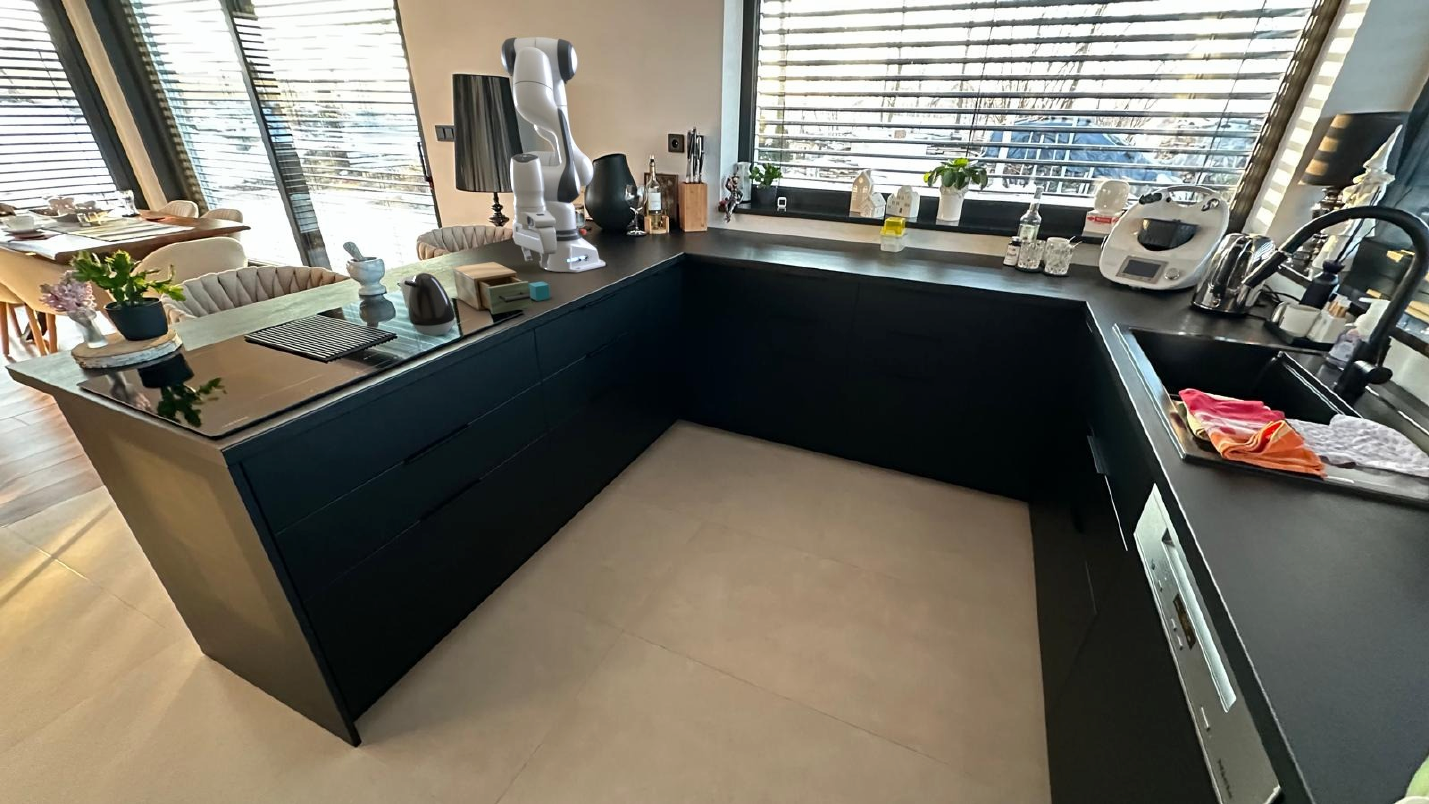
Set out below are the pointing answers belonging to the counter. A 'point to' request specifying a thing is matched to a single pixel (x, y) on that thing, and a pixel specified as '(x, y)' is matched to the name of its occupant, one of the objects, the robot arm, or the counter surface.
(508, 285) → the green drawer
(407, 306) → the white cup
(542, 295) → the teal cube
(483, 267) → the wooden drawer box
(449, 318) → the pump dispenser
